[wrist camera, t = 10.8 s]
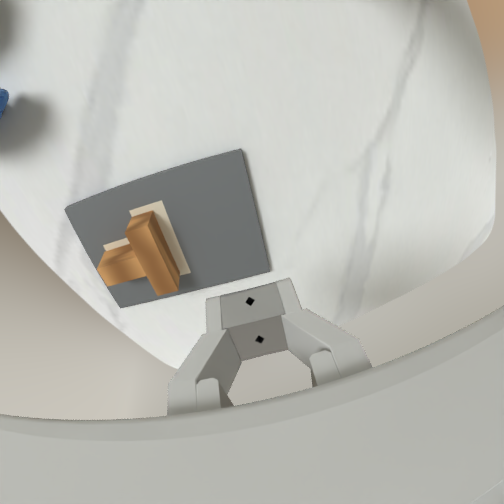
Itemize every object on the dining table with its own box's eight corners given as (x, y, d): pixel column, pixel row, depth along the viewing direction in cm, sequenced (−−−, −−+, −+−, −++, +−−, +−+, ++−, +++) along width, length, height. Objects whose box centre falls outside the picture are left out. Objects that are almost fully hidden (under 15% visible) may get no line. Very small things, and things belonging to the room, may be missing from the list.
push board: (240, 148, 34) (241, 150, 33) (268, 267, 44) (270, 271, 43) (67, 206, 34) (64, 209, 33) (121, 303, 44) (120, 308, 44)
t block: (152, 210, 36) (147, 225, 32) (180, 271, 41) (178, 290, 38) (93, 230, 36) (83, 246, 32) (124, 286, 41) (119, 305, 38)
